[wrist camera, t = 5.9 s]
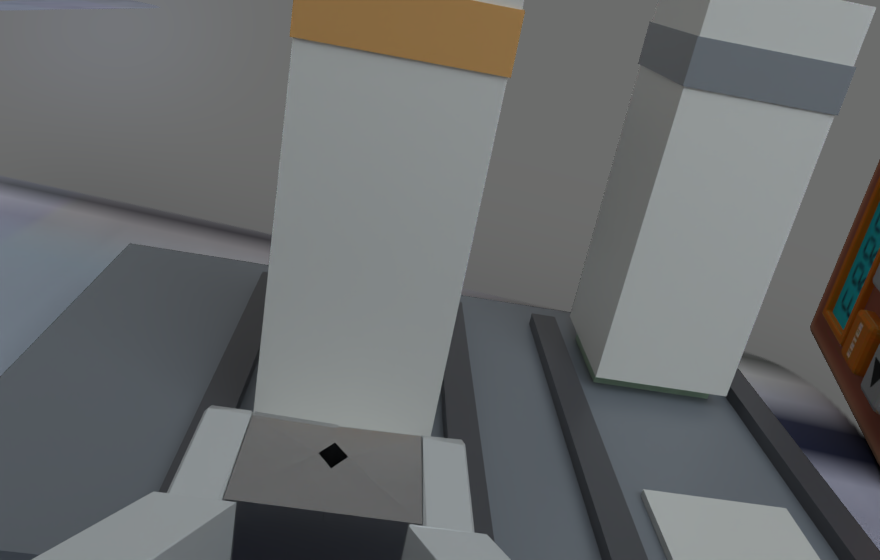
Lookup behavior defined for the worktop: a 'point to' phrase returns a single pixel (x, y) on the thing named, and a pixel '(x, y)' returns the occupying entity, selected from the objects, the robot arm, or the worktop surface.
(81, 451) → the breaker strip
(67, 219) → the worktop surface
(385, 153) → the breaker toggle
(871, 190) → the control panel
